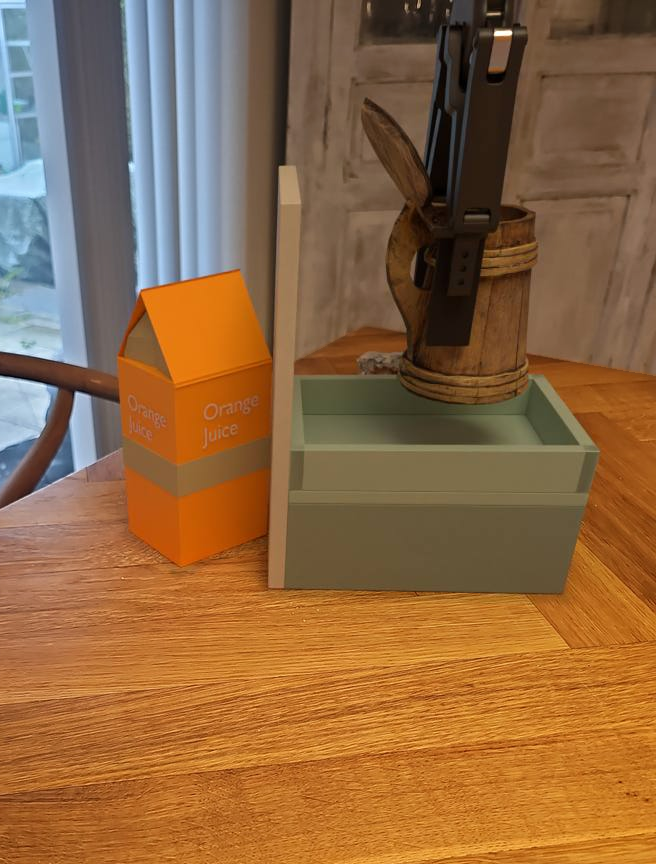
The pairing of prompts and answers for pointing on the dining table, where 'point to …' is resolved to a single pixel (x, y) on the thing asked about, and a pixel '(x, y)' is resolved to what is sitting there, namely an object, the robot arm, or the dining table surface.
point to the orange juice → (196, 417)
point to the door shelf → (413, 473)
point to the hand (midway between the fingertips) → (437, 326)
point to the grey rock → (379, 363)
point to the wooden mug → (497, 291)
